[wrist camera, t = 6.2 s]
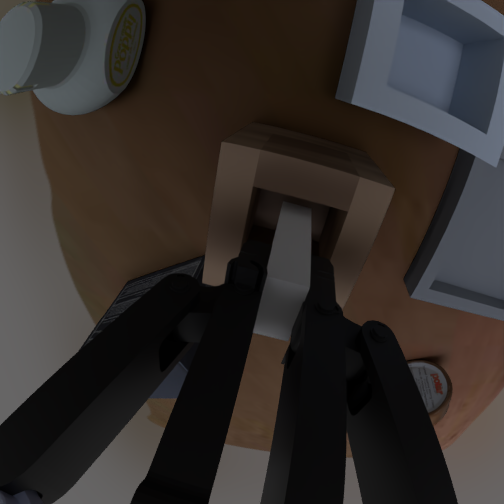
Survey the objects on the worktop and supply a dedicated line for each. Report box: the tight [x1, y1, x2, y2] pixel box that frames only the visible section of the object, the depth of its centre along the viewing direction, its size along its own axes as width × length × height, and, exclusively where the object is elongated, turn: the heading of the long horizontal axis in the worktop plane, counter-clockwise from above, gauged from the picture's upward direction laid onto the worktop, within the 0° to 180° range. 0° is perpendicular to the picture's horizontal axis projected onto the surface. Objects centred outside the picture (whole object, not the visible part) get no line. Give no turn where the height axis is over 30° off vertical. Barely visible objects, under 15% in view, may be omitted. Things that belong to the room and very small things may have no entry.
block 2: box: [335, 0, 504, 167], centre depth 12 cm, size 8×8×8 cm
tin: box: [346, 360, 452, 441], centre depth 26 cm, size 15×3×8 cm, turn 106°
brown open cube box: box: [202, 122, 395, 309], centre depth 18 cm, size 8×8×8 cm
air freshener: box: [0, 0, 146, 115], centre depth 13 cm, size 11×8×10 cm
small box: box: [79, 255, 212, 398], centre depth 24 cm, size 11×6×10 cm, turn 116°
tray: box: [404, 146, 504, 321], centre depth 18 cm, size 14×14×2 cm
